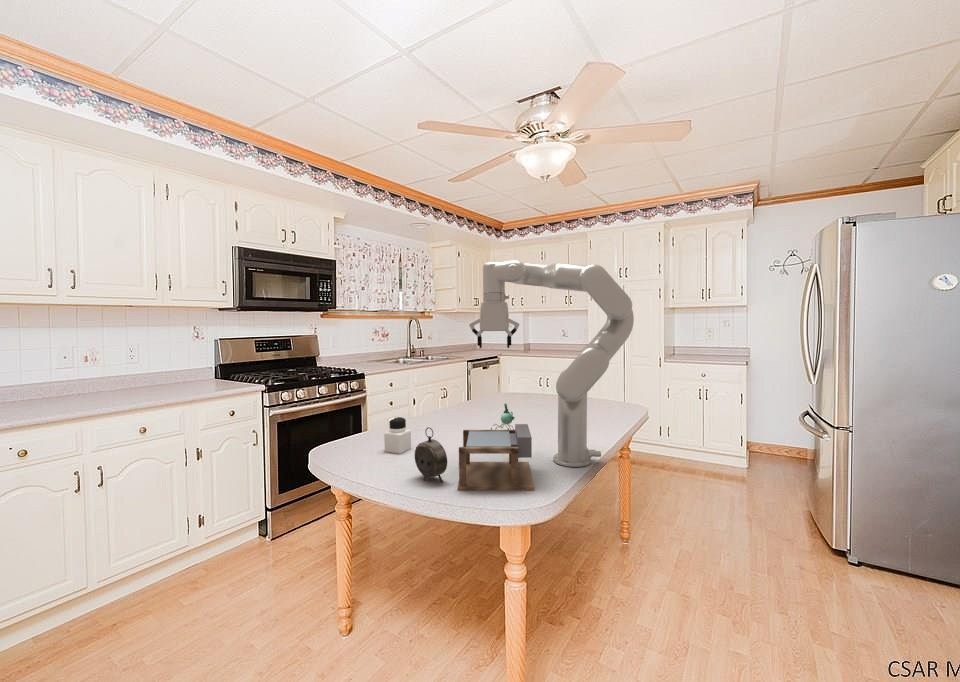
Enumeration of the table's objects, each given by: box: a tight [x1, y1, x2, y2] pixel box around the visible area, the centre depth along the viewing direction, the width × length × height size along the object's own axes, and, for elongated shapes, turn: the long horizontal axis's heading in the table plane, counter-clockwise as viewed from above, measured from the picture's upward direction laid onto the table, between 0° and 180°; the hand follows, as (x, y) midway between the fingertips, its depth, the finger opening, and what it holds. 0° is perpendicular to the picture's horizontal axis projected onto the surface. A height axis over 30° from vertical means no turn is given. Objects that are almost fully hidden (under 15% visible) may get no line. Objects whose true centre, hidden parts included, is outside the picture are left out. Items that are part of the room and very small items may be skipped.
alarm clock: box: [414, 426, 448, 483], centre depth 135 cm, size 11×5×16 cm, turn 47°
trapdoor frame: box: [456, 429, 535, 491], centre depth 138 cm, size 22×21×12 cm
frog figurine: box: [490, 403, 516, 430], centre depth 181 cm, size 10×18×15 cm, turn 101°
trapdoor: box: [466, 423, 533, 459], centre depth 137 cm, size 19×16×6 cm
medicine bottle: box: [383, 416, 412, 455], centre depth 165 cm, size 7×7×12 cm
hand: (494, 347), depth 155 cm, fingers open, 9 cm apart
